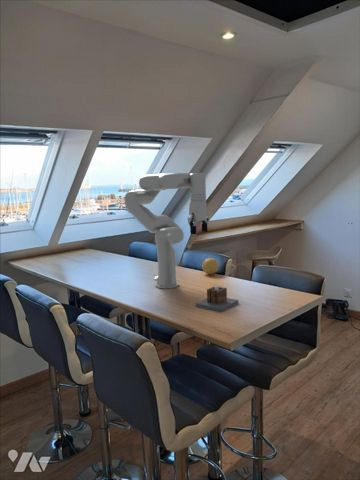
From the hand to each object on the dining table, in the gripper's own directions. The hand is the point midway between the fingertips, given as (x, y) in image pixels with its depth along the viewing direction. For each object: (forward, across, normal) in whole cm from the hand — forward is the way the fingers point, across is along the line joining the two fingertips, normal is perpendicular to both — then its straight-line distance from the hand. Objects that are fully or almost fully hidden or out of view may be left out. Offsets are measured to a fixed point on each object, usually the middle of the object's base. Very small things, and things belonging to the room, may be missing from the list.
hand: (199, 232), depth 183 cm
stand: (+30, +13, +18) cm, 38 cm away
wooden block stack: (+29, +13, +18) cm, 36 cm away
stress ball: (+31, -34, -16) cm, 48 cm away
